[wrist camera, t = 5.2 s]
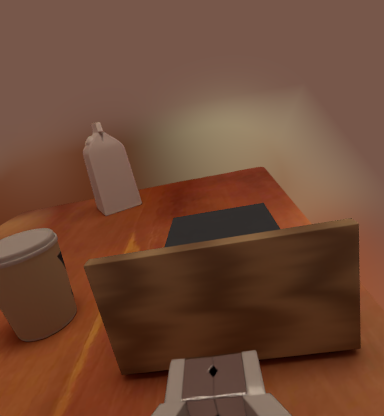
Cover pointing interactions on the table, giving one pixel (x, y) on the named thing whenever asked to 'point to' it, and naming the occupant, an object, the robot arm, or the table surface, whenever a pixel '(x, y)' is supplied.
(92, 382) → the table surface
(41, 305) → the coffee cup
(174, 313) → the drawer
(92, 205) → the table surface
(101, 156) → the milk
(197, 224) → the mat
